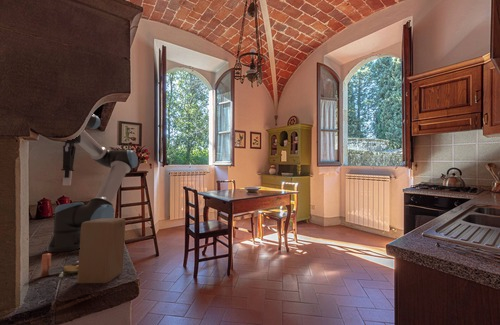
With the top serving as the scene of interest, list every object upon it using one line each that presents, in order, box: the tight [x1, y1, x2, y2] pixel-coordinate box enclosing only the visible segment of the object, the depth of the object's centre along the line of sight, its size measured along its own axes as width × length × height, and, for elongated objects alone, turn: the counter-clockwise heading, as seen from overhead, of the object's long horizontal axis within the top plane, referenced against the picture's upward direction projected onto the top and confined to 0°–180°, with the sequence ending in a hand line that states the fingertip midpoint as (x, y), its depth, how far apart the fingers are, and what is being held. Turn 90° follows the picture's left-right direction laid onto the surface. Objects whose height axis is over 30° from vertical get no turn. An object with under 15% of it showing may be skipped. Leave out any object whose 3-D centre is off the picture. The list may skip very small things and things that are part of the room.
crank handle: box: [39, 252, 79, 278], centre depth 81 cm, size 13×7×7 cm, turn 121°
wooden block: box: [76, 217, 126, 284], centre depth 78 cm, size 10×10×20 cm
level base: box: [56, 271, 78, 279], centre depth 82 cm, size 9×9×2 cm
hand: (66, 185), depth 102 cm, fingers closed
